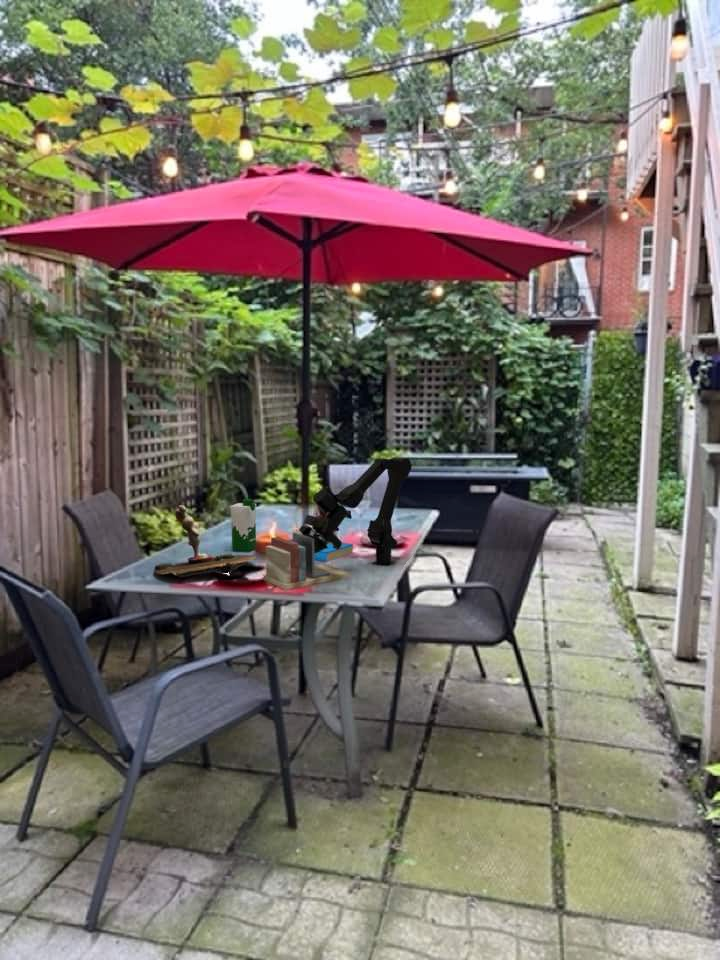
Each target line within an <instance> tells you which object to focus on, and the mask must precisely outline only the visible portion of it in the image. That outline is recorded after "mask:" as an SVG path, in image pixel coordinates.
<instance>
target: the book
mask: <svg viewBox="0 0 720 960" xmlns="http://www.w3.org/2000/svg"><path fill="white" fill-rule="evenodd" d="M288 540H289V541H292V542H293V538H292V539H288ZM341 542H342V546H341V547H340V549H339V550H337V549H334V548H333V544H332V543H329V544H328V545H327V547H328V548H326V549H324V550H321V551H319V552H317V553H315V554H314V561H315V560H317V561H321V562H326V563H327V562H330V561H332V560H335V559H339V558H342V557H345V556H348V555H351V554H353V553H354V551H353V548H354V547H353V546H354V544H353V543H349V542H344V541H341Z"/></svg>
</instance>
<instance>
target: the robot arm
mask: <svg viewBox="0 0 720 960" xmlns="http://www.w3.org/2000/svg"><path fill="white" fill-rule="evenodd" d="M412 467H413V464H412V462H411V460H410V458H407V457H399V456H393V457H392V458H385V457H384V458H383V457H377V458H376V459H375V460H374V461H373V463H372V464H371V465H370V466H369V467H368V468H367V469H366V470H365V471H364V472H363V473H362V474H361V476H360V477H359V478H358V479H356V480H355V482H353V483H352V484H350V485H347V486H346V487H344V488H343V489H342V490H340V491H339V493H336V494H335V493H334V492H333V491H332V490H331V488H330V487H327V486H324V488H322V489H320V490H318V491H317V492H315V494H314V495H313V498H312V501H313V502H314V504H315V505H317V506H318V507H319V509H320V510H321V511H322V512H324V513H326V515H325V516H322V515H317V516H314V515H310V514H306V517H305V518H304V521H303V524H304V525H301V526H300V528H299V529H298V532H299V533H300V534H301V535H304V536H307V537H311V538H314V554H315V553H317V552H319V551H321V550H324V549H326V548H328V547H327V545H328V544H329V543H332V544H333V548H334V549H337V550H339V549H340V547H341V546H342V542H343V541H341V539H339V537H337V535H336V534H335V533H336V532H339V531H340V528H339V526H340V525H341V524H342V523H343V521H344V520H345V519H349V520H352V519H353V518H352V517H353V516H352V511H351V510H349V509H355V508H357V507H359V506H360V503H361V502H362V501H363V499H364V497H365V493H366V492H367V490H368V489H369V488H371V486H372V485H373V484H374V483H375V482H376V481H377V480H378V479H379V478H380V477H381V476H382V475H383V473H384V472H385V471H386V470H387V471H386V473H387V476H388V477H387V478H388V481H387V483H386V484H387V485H386V487H385V491H384V494H383V498H382V501H381V505H380V507H379V512H378V514H377V517H376V518H375V519H374V520H372V519H371V520H369V525H368V528H367V530H366V532H367V537H368V539H369V541H370V543H371V544H370V545H372V546H375V560H374V561H372V563H371V564H373V565H383V566H390V565H391V564H393V563H394V562H395V559H392V550H393V549H395V548H397V544H398V541H397V540H396V539H395V538H394V537H393V536H392V533H393V527H392V518H393V514H394V511H395V507H396V504H397V501H398V499H399V495H400V491H401V489H402V488H401V487H402V485H403V482H404V481H405V480H407V478H408V477H409V476H410V473H411V470H412ZM346 508H349V509H348V510H347V509H346Z"/></svg>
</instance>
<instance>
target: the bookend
mask: <svg viewBox="0 0 720 960" xmlns="http://www.w3.org/2000/svg"><path fill="white" fill-rule="evenodd" d="M292 539H293V542H295V543H298V545H301V546H303V547H305V552H306V576H309V577H311V578H315V577H320V576H325V575H330V573H329V572H326V571H324V570H321V569H318V568H316V567H315V565H316V564H315V559H314V538H311V537H307V536H304V535H303V534H302V533H298V532H292Z"/></svg>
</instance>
